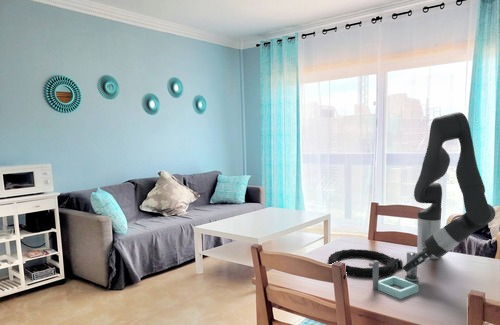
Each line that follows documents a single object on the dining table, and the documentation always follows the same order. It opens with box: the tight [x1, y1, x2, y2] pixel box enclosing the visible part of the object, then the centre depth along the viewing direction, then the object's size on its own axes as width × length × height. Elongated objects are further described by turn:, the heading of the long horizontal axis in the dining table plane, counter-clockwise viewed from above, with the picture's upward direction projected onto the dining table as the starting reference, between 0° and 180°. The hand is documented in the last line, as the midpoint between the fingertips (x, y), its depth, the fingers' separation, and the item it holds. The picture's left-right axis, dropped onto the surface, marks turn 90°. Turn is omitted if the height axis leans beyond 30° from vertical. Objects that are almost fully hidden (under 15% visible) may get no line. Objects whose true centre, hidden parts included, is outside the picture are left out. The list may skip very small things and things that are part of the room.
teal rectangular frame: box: [368, 259, 419, 300], centre depth 127 cm, size 13×11×10 cm
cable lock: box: [327, 248, 404, 278], centre depth 152 cm, size 28×4×30 cm
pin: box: [404, 251, 419, 283], centre depth 136 cm, size 5×5×10 cm
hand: (406, 267), depth 138 cm, fingers closed on pin, 3 cm apart
